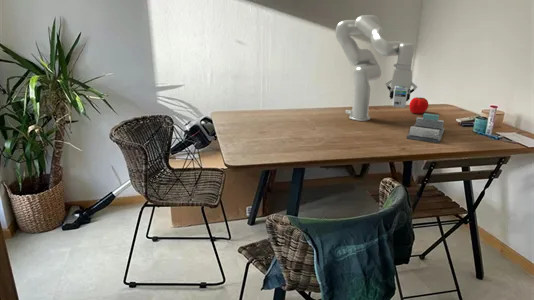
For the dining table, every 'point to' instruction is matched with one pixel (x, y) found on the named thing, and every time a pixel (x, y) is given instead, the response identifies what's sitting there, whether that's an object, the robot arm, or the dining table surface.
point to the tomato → (418, 105)
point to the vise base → (425, 133)
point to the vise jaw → (430, 121)
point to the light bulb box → (399, 96)
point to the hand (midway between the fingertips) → (399, 99)
